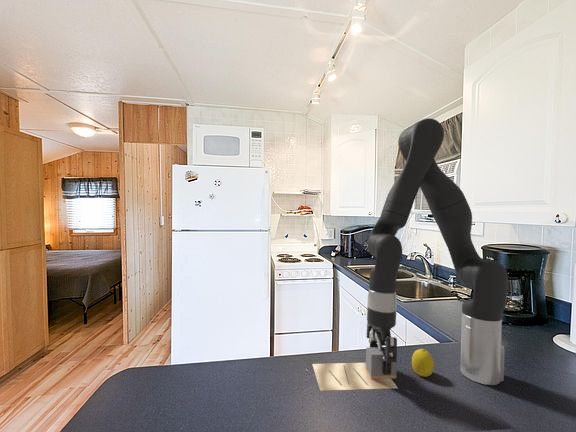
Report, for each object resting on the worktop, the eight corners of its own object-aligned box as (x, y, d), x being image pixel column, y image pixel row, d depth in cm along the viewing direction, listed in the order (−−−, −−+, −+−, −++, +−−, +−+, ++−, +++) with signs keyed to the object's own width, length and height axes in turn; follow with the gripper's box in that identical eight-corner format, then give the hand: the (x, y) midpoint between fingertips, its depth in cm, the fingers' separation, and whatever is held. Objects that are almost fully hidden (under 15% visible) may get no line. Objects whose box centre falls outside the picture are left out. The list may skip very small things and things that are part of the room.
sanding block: (389, 369, 78) (390, 347, 77) (396, 378, 74) (396, 354, 73) (365, 370, 77) (366, 347, 77) (370, 379, 73) (371, 354, 73)
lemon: (430, 373, 78) (431, 345, 78) (435, 385, 73) (436, 355, 73) (409, 370, 80) (410, 343, 80) (413, 381, 74) (413, 352, 74)
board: (378, 366, 81) (378, 362, 81) (397, 392, 69) (398, 387, 69) (312, 368, 80) (312, 363, 80) (320, 395, 68) (320, 390, 68)
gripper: (408, 316, 68) (405, 380, 68) (383, 298, 82) (381, 351, 83) (379, 316, 68) (376, 381, 68) (359, 298, 82) (357, 352, 82)
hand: (379, 365), depth 75 cm, fingers open, 8 cm apart
